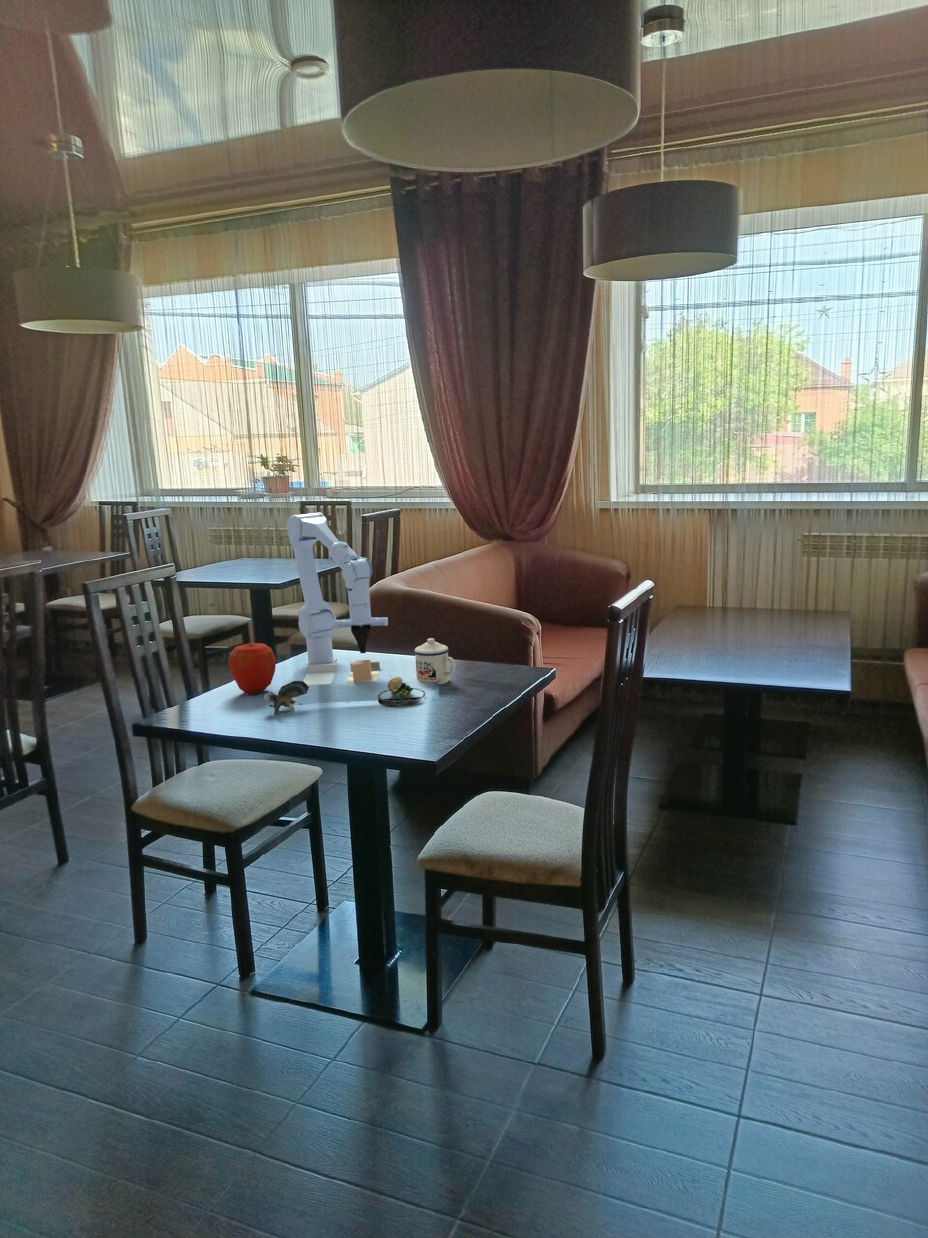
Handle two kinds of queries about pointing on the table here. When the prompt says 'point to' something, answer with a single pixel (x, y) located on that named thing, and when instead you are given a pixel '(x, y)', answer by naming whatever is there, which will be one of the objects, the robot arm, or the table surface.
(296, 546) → the robot arm
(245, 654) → the apple
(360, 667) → the block
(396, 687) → the burger
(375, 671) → the beige lipped tray
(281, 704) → the grey-brown animal figure
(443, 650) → the teacup with lid
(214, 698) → the table surface
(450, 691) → the table surface
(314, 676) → the grey strip
